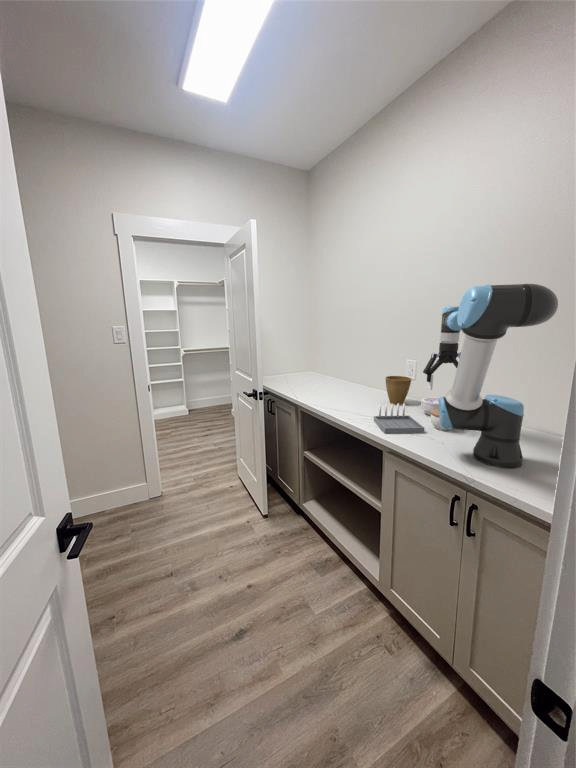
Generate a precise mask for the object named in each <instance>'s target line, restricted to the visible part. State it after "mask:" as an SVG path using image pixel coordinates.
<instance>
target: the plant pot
mask: <svg viewBox="0 0 576 768" xmlns="http://www.w3.org/2000/svg"><path fill="white" fill-rule="evenodd" d="M384 379H385V389H386V393H387V397H388V401H389V403H390V404H393V405H394V404H395V406H397V403H399V406H401V404H402V405H403V403H405V400H406V398H407V395H408V394H409V390H410V388H411V384H412V378H411V377H407V376H402V375H388V376H385V378H384Z"/></svg>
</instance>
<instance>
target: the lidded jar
mask: <svg viewBox="0 0 576 768" xmlns="http://www.w3.org/2000/svg"><path fill="white" fill-rule="evenodd" d="M430 423H431V425H432V426H433V427H434V428H435V429H436V430H439V431H449V430H450V429H448V428H444V427H442V425H441V423H440V417H439V409H435V410H432V411H431V416H430Z"/></svg>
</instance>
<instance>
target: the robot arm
mask: <svg viewBox="0 0 576 768" xmlns="http://www.w3.org/2000/svg"><path fill="white" fill-rule="evenodd" d="M558 308H559V300H558V296H557V295H556V293H555V292H554V291H552V290H551V288H549V287H546V286H544V285H542V284H541V285H540V284H536V283H522V284H521V283H519V284H518V283H517V284H516V283H514V284H495V285H494V284H492V285H491V284H484V285H477V286H472V287H470V288H468V290H466V291H465V292H464V294H463V296H462V298H461V300H460V302H459V305H457V306H456V305H455V306H444V307H443V308H442V313H441V324H440V326H441V327H440V335H439V337H440V338H439V341H440V342H439V348H438V353H434V352H432V353H431V356H430V359H428V362H427V364H426V366H425V367H424V369H423V371H422V373H423V374H425V375H426V382H427V389H428V390H433V387H434V386H433V385H434V375H433V374H434V373H435V372H436V371H437V370H438V369H439V368H440V366H442V365H443V364H452V365H453V366H454V367H455V368H456V372H455V376H454V380H453V384H452V387H451V388H450V389H449V390H448V391H447V392H446V393H445V396H440V397H438V398H439V417H440V423H441V425H442V427H444V428H448V429H449V430H450V429H451V430H454V431H455V430H456V431H457V430H460V431H473V432H474V431H475V432H477V431H478V432H480V437H478V439H477V442H475V443H476V444H475V446H474V447H473V451H472V456H473V457H474V459H476V460H477V461H479V462H481V463H484V464H486V465H489V466H493V467H496V468H497V467H498V468H503V469H515V468H516V469H517V468H521V467H522V465H523V462H524V457H523V452H522V450H521V443H520V439H521V432H522V426H523V419H524V416H525V415H524V413H525V412H524V409H525V407H524V404H523V403H522V402H521V401H519V400H517V399H515V398H512V397H507V396H505V395H504V396H503V395H498V394H485V396H484V398H482V396H481V392H482V388H483V386H484V382H485V380H486V376H487V373H488V370H489V368H490V367H489V366H490V363H491V361H492V357H493V354H494V351H495V348H496V345H497V342H498V340H500V339H502V338H503V337H505V336H506V334H507V330H508V329H509V328H525V327H533V326H539V325H541V324H543V323H547V322H548V321H549V320H551V319H552V317H554V315H555V314H556V313H557V310H558ZM461 332H462V334H464V339H463V343H462V347H461V350H460V351H461V352H460V351H459V343H458V342H460V334H461ZM458 352H459V353H458ZM457 358H458V359H459V360H457ZM435 361H436V362H435Z"/></svg>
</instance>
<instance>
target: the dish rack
mask: <svg viewBox="0 0 576 768" xmlns="http://www.w3.org/2000/svg"><path fill="white" fill-rule="evenodd" d="M390 404H391V403H390ZM384 406H385V408H384V409H385V410H384V415H382V403H379V408H378V410H379V411H378V412H379V413H378V415H374V416H373V422H374V423H375V424H376V425H377V426H378V427H377V428H379V429H380V431H381V432H383V434H385V435H387V434H425V427H424V426H423V425H422V424H421V423H419V422H418V421H417V420H416V419H414V418H413V417H412V416H410V415H406V414H405V412H406V403H405V402H404V403H403V404H402V415H399V412H400V405H399V403H397V405H396V406H397V407H396V415H394V404H391V406H390V415H388V403H385V405H384Z"/></svg>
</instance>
